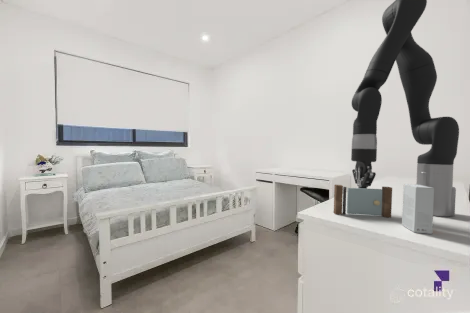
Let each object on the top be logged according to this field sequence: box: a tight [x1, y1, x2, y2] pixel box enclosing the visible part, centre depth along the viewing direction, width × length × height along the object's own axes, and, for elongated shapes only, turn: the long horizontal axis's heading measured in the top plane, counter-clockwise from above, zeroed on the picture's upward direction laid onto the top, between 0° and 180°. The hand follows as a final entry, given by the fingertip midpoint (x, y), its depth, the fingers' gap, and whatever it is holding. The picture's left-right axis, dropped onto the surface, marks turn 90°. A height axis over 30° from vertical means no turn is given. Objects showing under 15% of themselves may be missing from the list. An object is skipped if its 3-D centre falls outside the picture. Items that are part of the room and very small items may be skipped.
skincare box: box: [401, 183, 434, 235], centre depth 58 cm, size 6×4×12 cm
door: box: [346, 187, 382, 217], centre depth 70 cm, size 10×2×8 cm, turn 82°
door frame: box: [333, 184, 393, 218], centre depth 70 cm, size 17×2×10 cm, turn 82°
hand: (362, 197), depth 74 cm, fingers closed
